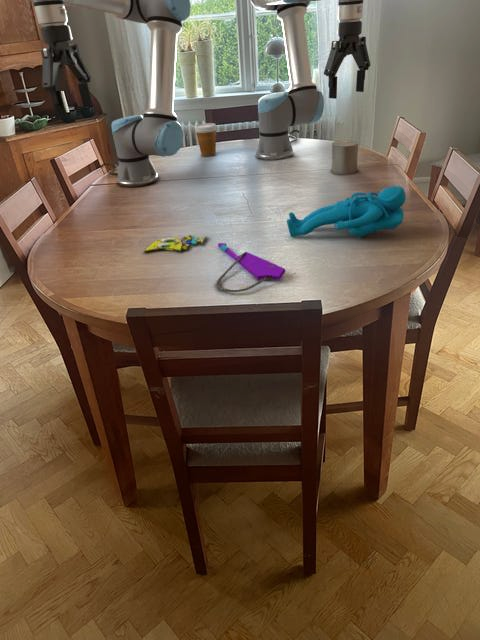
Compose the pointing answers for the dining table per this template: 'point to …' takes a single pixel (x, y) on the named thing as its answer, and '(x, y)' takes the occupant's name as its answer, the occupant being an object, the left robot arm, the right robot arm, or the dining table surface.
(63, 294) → the dining table surface
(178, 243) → the toy
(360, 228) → the toy
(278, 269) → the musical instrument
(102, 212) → the dining table surface
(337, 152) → the canister
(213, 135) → the disposable coffee cup
